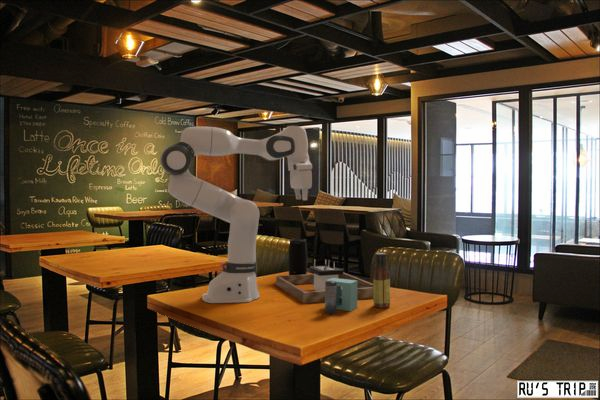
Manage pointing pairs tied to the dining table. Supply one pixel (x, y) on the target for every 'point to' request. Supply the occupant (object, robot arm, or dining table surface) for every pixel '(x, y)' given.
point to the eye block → (346, 293)
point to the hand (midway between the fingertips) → (301, 199)
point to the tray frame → (319, 296)
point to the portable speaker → (298, 257)
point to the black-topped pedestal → (324, 273)
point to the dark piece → (331, 297)
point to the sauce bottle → (381, 282)
